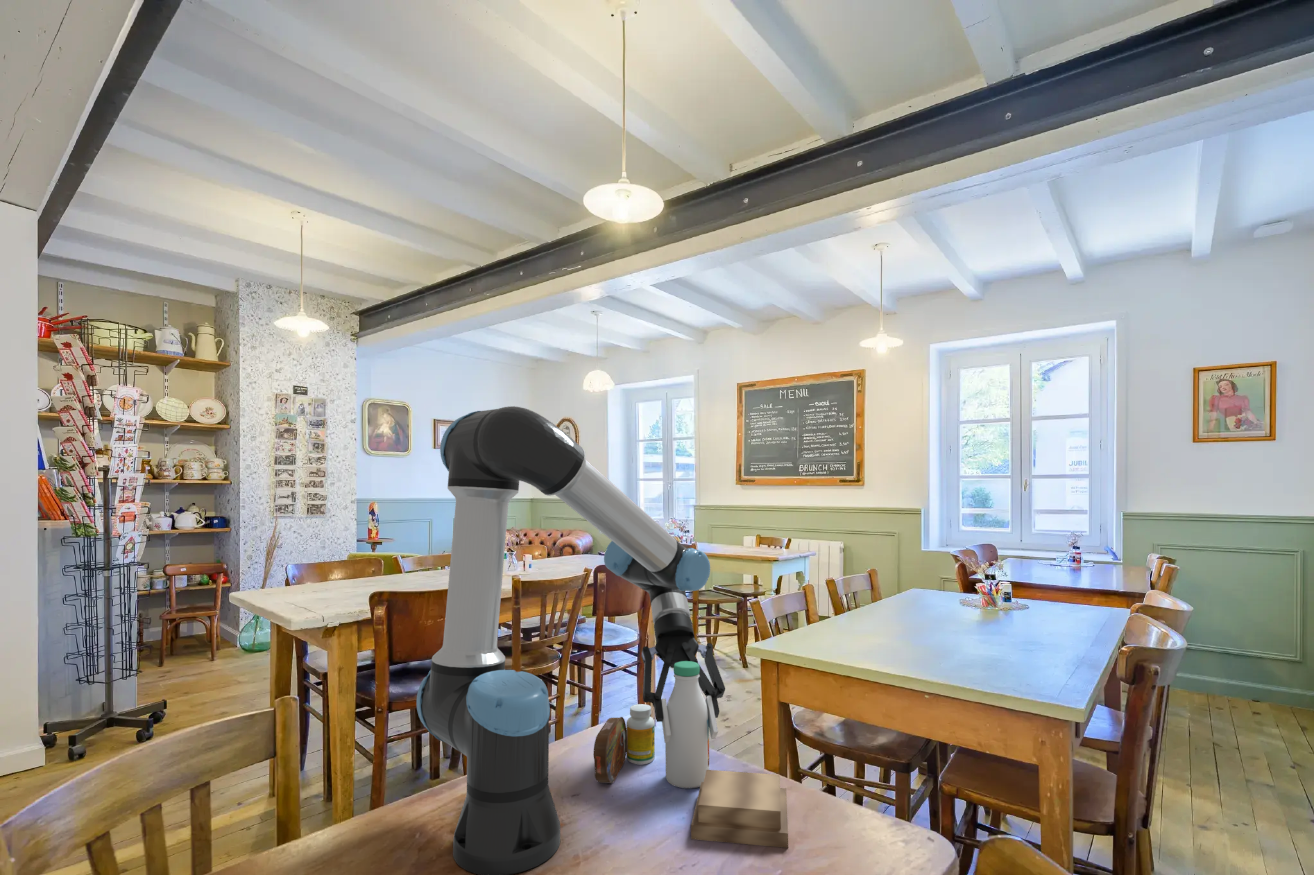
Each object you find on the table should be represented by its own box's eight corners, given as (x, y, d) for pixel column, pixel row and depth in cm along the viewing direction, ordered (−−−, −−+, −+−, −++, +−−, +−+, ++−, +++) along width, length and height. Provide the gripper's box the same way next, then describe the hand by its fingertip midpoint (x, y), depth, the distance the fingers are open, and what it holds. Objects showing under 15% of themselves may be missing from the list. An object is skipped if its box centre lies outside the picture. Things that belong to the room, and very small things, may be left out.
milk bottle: (706, 791, 111) (705, 671, 112) (661, 787, 113) (661, 668, 114) (712, 772, 119) (710, 659, 120) (670, 768, 120) (669, 657, 121)
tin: (608, 792, 111) (608, 741, 112) (590, 791, 112) (590, 740, 112) (628, 755, 126) (628, 710, 127) (612, 754, 127) (612, 709, 127)
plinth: (691, 839, 96) (690, 807, 97) (701, 794, 110) (701, 766, 110) (788, 848, 94) (787, 815, 94) (786, 800, 108) (786, 772, 108)
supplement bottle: (624, 755, 126) (624, 703, 127) (651, 752, 127) (651, 701, 128) (629, 766, 121) (629, 713, 122) (657, 763, 122) (657, 711, 123)
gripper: (718, 630, 134) (744, 742, 117) (619, 634, 130) (630, 751, 113) (725, 608, 129) (753, 722, 112) (622, 612, 125) (634, 731, 109)
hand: (691, 737), depth 113 cm, fingers closed on milk bottle, 7 cm apart
